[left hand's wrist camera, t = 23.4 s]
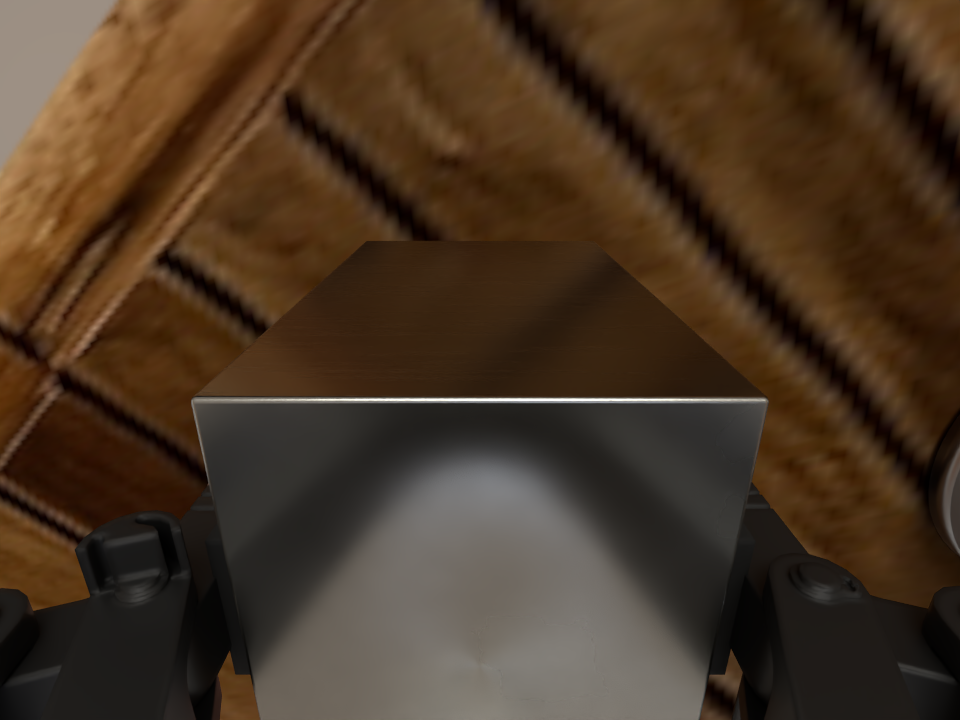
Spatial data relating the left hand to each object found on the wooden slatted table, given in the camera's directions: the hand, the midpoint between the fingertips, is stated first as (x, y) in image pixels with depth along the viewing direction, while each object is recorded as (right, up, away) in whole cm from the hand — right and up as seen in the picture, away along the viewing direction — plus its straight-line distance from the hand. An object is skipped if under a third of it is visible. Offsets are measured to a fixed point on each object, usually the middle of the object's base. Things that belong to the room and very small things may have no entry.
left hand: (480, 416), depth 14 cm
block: (0, +1, +3) cm, 3 cm away
